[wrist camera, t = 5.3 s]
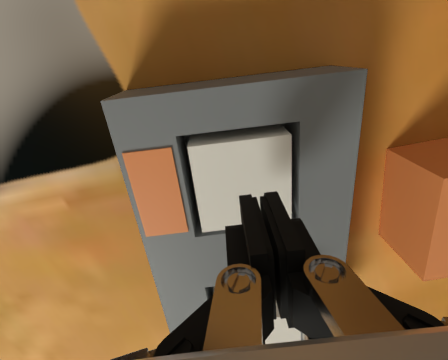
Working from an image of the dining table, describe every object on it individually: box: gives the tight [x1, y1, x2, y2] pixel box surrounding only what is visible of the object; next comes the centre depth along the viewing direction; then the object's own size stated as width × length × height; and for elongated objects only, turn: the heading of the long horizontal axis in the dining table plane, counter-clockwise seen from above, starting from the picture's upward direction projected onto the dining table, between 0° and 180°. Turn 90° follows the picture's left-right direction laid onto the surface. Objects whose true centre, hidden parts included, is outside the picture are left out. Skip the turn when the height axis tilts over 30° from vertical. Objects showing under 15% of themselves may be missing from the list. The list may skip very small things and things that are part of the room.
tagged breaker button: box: [187, 124, 292, 232], centre depth 15 cm, size 5×5×3 cm
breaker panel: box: [101, 66, 368, 340], centre depth 18 cm, size 12×20×4 cm, turn 6°
